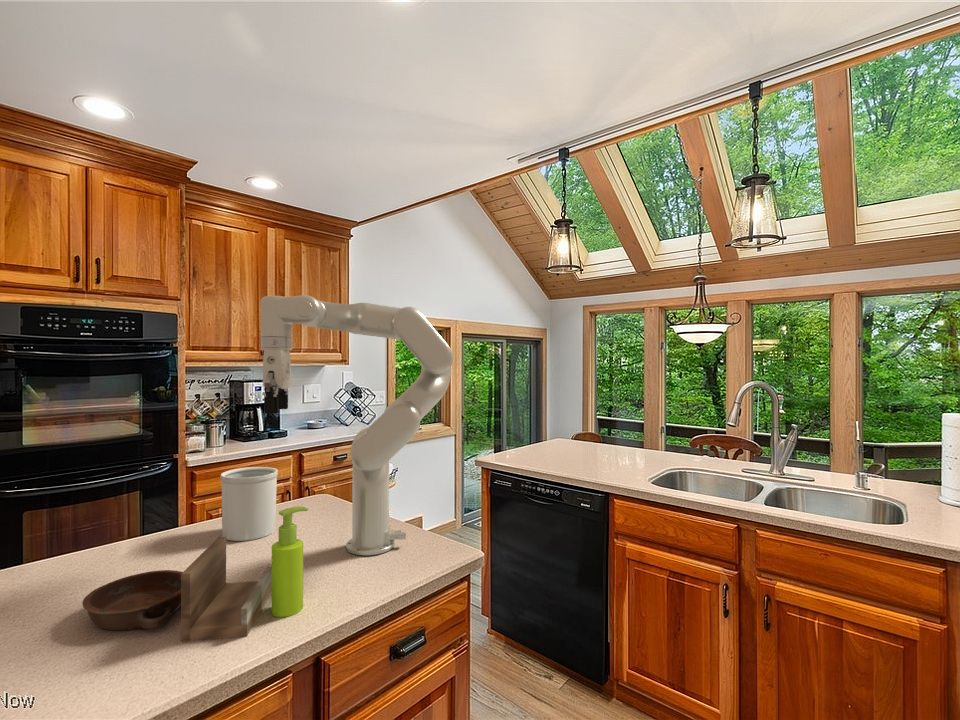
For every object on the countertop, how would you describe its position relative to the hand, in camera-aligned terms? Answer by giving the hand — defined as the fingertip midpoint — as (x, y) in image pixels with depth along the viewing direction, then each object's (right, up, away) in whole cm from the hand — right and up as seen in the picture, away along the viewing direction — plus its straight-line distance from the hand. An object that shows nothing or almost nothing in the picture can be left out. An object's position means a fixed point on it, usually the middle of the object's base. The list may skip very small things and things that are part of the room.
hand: (276, 411), depth 125 cm
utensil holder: (-14, -37, +15) cm, 42 cm away
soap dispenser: (+14, -37, -27) cm, 48 cm away
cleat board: (+3, -37, -29) cm, 47 cm away
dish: (-15, -37, -29) cm, 49 cm away
